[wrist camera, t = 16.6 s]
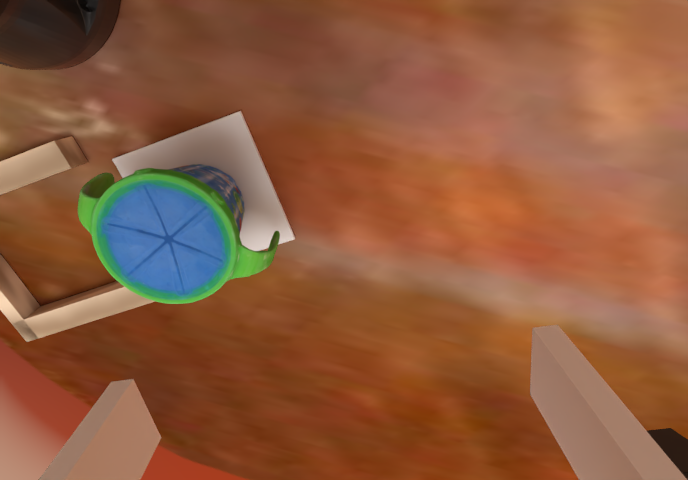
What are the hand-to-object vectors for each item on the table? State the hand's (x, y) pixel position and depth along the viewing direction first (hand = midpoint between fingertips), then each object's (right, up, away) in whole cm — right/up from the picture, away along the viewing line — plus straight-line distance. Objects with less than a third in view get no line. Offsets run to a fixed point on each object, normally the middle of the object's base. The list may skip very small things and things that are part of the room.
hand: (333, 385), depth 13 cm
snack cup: (-13, +9, +25) cm, 30 cm away
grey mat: (-13, +9, +25) cm, 30 cm away
